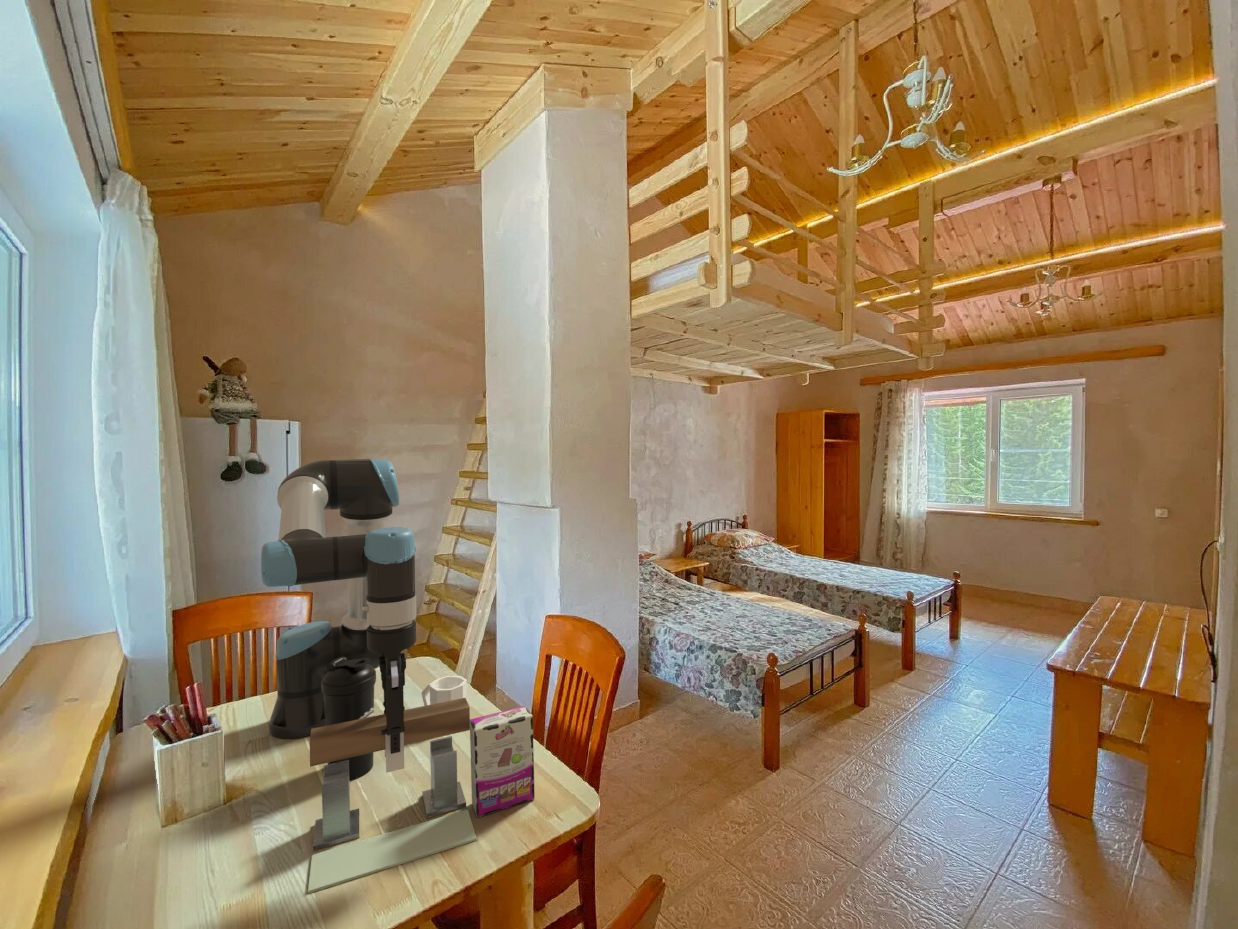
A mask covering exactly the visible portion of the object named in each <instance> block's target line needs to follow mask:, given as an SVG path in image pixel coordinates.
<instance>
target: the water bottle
mask: <svg viewBox="0 0 1238 929" xmlns="http://www.w3.org/2000/svg"><path fill="white" fill-rule="evenodd" d="M369 662H370V659H369V658H361V659H353V660H347V659H346V658H345V657H344V656H342V657H339V658H337V659H335V660H334V661H332V662H330V663H329V664H328V665H327V667H326V668H327V671H328V672H327V673H326V674H325V676H324V677H323V678H322V680H321V690H322V693H323V694H324V712H325V726H328V725H333V724H338V723H343V722H348V721H353V720H358V719H363V718H367V717H372V716H375V685H376V681H377V671H376V669H373V667H372V666H371V665H370V664H368V663H369ZM346 760H349V782H350V781H353V780H357V779H361V777H363V776H366V774H368V773H370V771H371V770H372V769H373V767H374V752H372V753H368V754H364V755H359V756H355V757H351V758H346V759H342V760H338V761H333V762H329V763H326V765H328V764H333V763H337V762H341V761H346Z"/></svg>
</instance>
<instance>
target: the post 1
mask: <svg viewBox="0 0 1238 929" xmlns="http://www.w3.org/2000/svg"><path fill="white" fill-rule="evenodd" d="M350 789H351V788H350V781H349V760H346V761H341V762H337V763H333V764H324V765H323V780H322V783H321V808H322V809H321V811H322V812H321V813H322V818H318V819H315V822H314V823H315V824H314V832H313V840H312V841H313V842H312V851H313V852H314V851H319V850H320V849H324V848H327V847H332V846H334V845H339V844H342V843H345V842H348V841H352V840H356V839H358V838H360V808H356V809H352V810H351V800H350V799H351V798H350V797H351V796H350Z"/></svg>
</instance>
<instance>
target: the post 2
mask: <svg viewBox="0 0 1238 929" xmlns="http://www.w3.org/2000/svg"><path fill="white" fill-rule="evenodd" d="M429 744H430V746H429V749H430V753H429V754H430V756H429V757H430V789H426V790H422V791H421V792H422V800H423V805H424V811H425V815H426V819H429V818H431V817H436V816H439V815H442V814H445V813H448V812H452V811H457V810H459V809H463V808H466V807H467V800H466V797H465V794H464V790H463V787H462V784H461V781H458V752H457V751H458V750H454V746H453V736H452V735H451V736H450V735H449V736H447V737H441V738H437V739H434V740H433V739H432V740H430V741H429Z"/></svg>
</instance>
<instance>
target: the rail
mask: <svg viewBox="0 0 1238 929" xmlns="http://www.w3.org/2000/svg"><path fill="white" fill-rule="evenodd" d="M470 710H471V709H470V705H469V703H468V699H467V700H466V698H461V699H456V700H451V701H446V702H441V703H436V704H432V705H427V706H424V705H423V706H417V707H413V708H412V707H411V708H409V709H405V710H404V726H405V730H404V746H406V745H412V744H414V743H420V742H424V741H429V740H433V739H436V738H437V739H439V738H440V737H441V738H443V737H445V736H450V735H451V736H452V735H454V734H455V735H456V734H459V733H460V734H461V733H463V732H468V731H470V719H471V718H470V717H471V715H470V713H471V711H470ZM385 729H386V714H384V713H382V714H378V715H377V714H376V715H374V716H372V717H367V718H363V719H358V720H353V721H348V722H343V723H338V724H333V725H328V726H323V727H318V728H313V729H311V735H309V736H310V737H309V767H315V766H320V765H323V764H324V765H325V764H327V763H329V762H333V761H338V760H342V759H346V758H351V757H355V756H359V755H364V754H368V753H372V752H373V753H376V752H380V751H385V749H386V739H385V735H382V732H381V730H385Z"/></svg>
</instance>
